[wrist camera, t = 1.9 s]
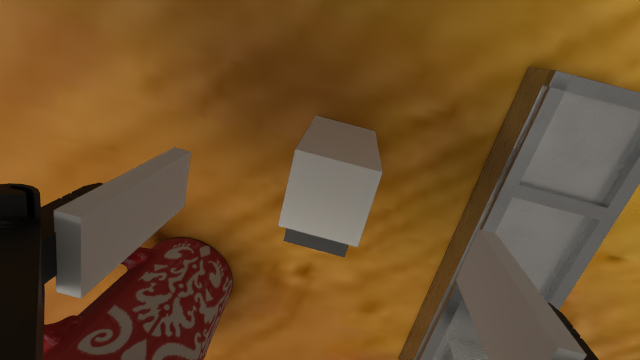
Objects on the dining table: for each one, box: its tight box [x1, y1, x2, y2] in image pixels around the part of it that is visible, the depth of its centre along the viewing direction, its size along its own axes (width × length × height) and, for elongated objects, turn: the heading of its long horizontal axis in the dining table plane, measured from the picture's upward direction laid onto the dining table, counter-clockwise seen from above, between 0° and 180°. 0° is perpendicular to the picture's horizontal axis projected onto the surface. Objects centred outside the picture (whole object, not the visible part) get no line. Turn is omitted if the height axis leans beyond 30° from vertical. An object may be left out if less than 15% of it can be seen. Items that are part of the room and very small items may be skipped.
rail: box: [399, 67, 640, 360], centre depth 20 cm, size 24×7×10 cm, turn 166°
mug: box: [43, 238, 232, 360], centre depth 22 cm, size 13×9×14 cm
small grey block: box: [278, 116, 383, 257], centre depth 20 cm, size 5×4×8 cm
